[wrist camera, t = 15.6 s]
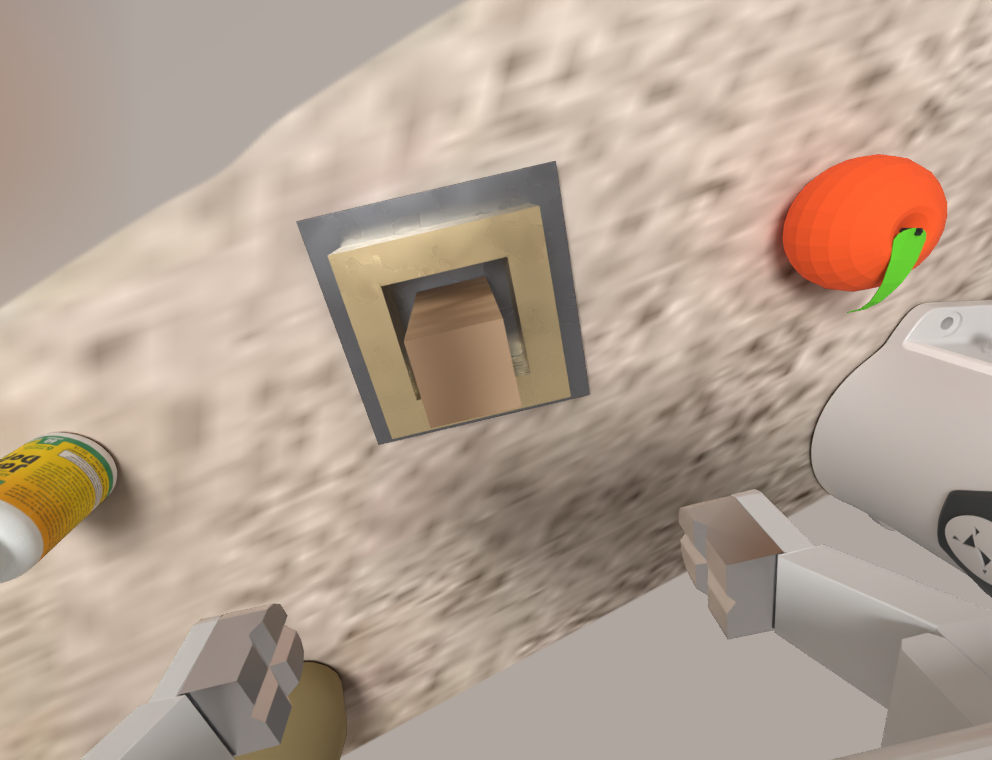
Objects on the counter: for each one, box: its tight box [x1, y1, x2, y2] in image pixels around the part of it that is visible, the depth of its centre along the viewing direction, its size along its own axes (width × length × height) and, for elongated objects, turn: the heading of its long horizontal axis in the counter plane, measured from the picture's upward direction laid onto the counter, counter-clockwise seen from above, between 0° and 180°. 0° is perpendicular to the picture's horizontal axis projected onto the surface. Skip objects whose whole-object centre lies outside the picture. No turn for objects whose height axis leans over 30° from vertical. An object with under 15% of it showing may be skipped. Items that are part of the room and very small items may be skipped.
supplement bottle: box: [0, 432, 117, 583], centre depth 25 cm, size 5×5×10 cm
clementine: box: [783, 154, 947, 313], centre depth 25 cm, size 8×7×7 cm
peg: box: [404, 276, 522, 428], centre depth 23 cm, size 4×4×9 cm
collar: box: [297, 161, 590, 445], centre depth 27 cm, size 14×14×4 cm
